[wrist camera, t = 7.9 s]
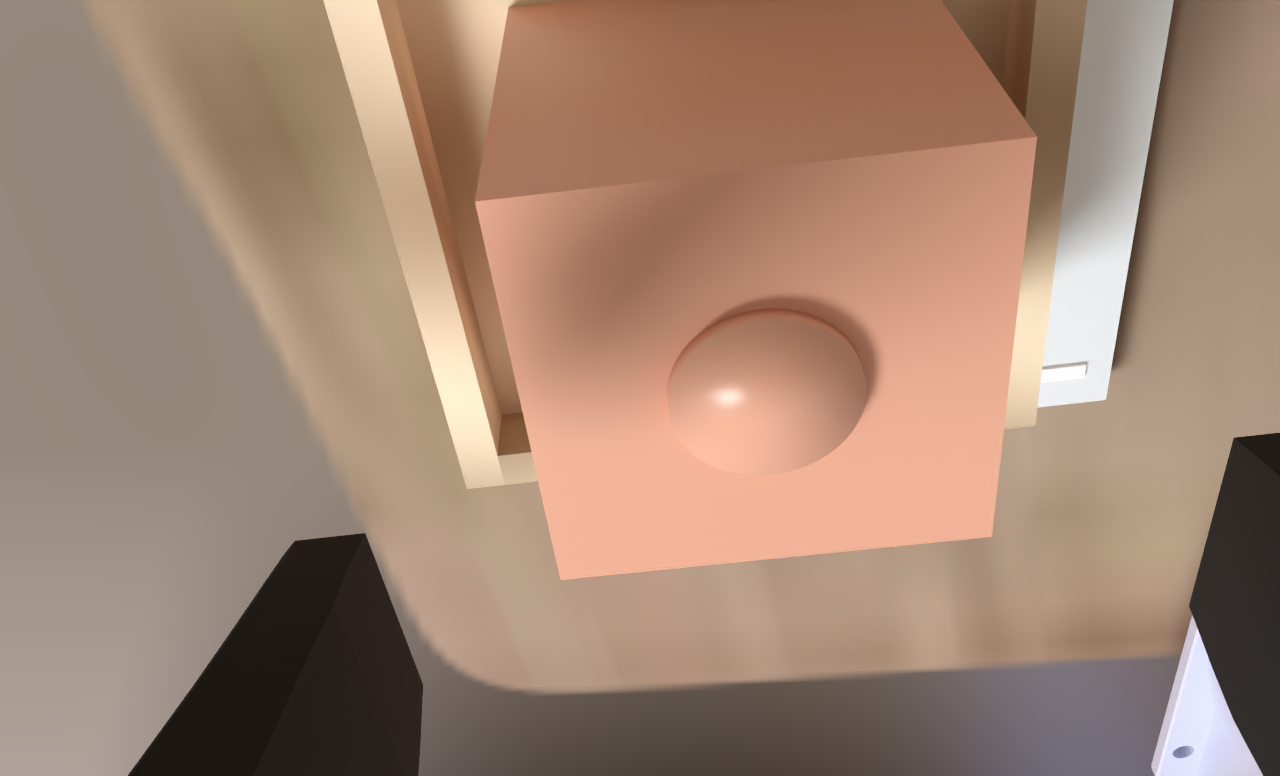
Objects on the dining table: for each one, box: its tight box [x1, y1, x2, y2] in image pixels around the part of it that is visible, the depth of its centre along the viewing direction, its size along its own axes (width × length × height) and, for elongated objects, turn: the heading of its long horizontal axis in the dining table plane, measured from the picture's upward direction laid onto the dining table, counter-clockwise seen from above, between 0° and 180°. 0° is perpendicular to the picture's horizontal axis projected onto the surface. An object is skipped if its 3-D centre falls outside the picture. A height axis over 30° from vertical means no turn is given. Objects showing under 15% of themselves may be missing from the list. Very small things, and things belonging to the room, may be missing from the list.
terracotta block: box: [475, 0, 1037, 580], centre depth 13 cm, size 5×5×5 cm
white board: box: [1038, 0, 1174, 407], centre depth 18 cm, size 14×12×1 cm
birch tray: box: [324, 0, 1088, 489], centre depth 16 cm, size 9×9×3 cm
